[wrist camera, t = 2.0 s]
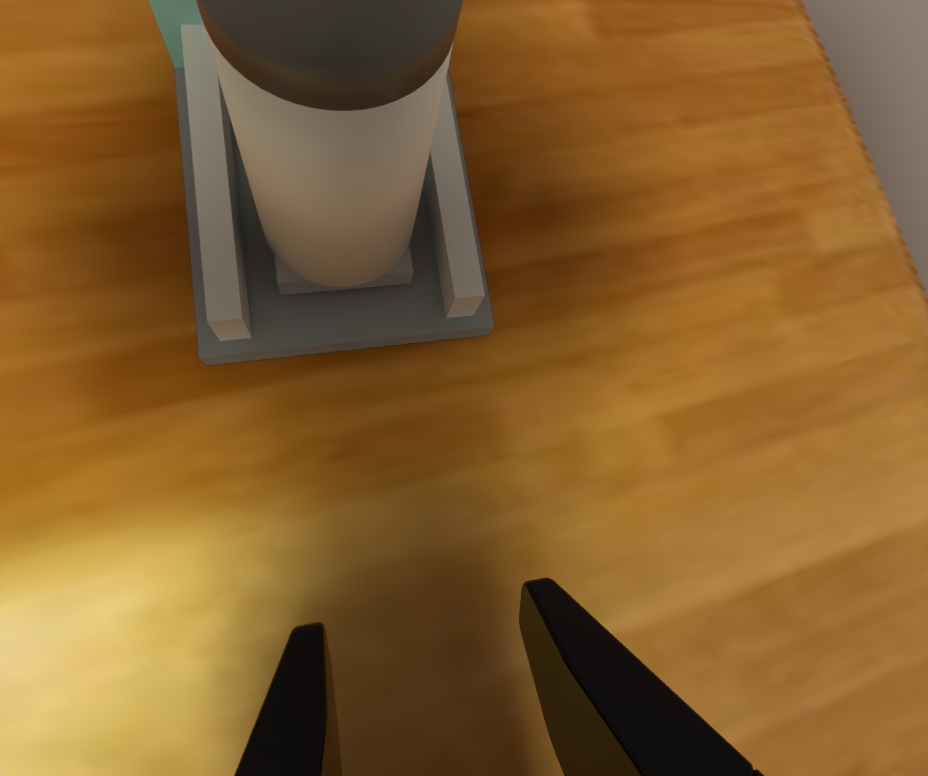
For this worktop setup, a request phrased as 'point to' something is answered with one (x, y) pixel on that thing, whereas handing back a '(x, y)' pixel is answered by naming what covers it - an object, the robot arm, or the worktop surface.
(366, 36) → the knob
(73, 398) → the worktop surface
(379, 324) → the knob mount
